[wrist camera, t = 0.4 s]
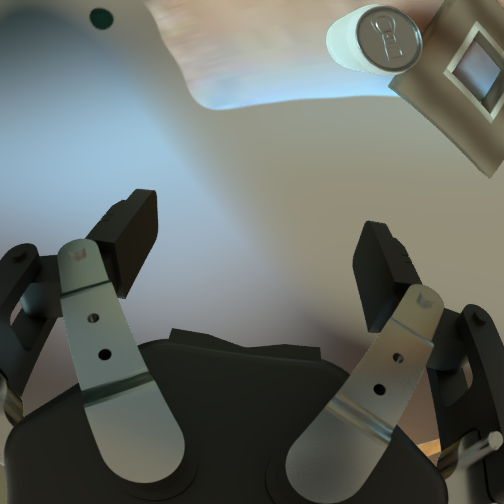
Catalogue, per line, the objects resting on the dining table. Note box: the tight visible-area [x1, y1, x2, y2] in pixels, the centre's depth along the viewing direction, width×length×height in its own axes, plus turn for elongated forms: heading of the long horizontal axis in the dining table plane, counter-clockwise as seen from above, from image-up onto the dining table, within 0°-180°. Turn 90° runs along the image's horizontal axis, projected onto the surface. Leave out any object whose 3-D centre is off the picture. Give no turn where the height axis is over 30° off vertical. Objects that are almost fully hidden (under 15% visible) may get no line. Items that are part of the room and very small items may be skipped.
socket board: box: [388, 0, 504, 178], centre depth 25 cm, size 20×18×3 cm
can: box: [326, 4, 423, 76], centre depth 23 cm, size 6×6×12 cm
